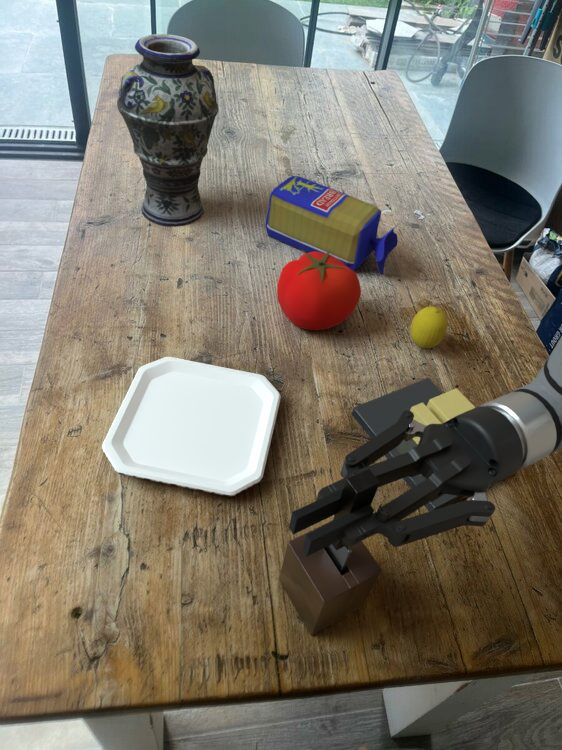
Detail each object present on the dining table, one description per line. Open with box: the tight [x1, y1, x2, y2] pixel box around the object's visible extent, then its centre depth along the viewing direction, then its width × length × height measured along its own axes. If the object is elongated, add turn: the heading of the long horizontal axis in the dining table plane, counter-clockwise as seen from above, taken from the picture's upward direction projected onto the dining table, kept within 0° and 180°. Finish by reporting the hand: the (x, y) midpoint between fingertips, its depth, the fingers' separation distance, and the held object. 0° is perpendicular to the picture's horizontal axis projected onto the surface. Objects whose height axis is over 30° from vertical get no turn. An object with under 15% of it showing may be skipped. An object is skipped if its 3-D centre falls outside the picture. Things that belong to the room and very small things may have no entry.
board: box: [351, 377, 464, 512], centre depth 81 cm, size 18×14×2 cm
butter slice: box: [410, 402, 442, 445], centre depth 78 cm, size 6×2×4 cm, turn 30°
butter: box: [427, 388, 477, 423], centre depth 80 cm, size 6×5×4 cm
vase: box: [116, 33, 219, 227], centre depth 104 cm, size 17×17×30 cm
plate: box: [101, 356, 282, 497], centre depth 78 cm, size 21×21×2 cm
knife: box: [325, 469, 380, 576], centre depth 56 cm, size 3×2×20 cm
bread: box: [264, 175, 400, 275], centre depth 108 cm, size 10×25×10 cm, turn 59°
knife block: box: [278, 519, 383, 637], centre depth 62 cm, size 7×7×9 cm
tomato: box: [276, 249, 362, 331], centre depth 93 cm, size 12×13×12 cm
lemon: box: [409, 306, 448, 349], centre depth 92 cm, size 6×6×8 cm
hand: (300, 534), depth 50 cm, fingers closed on knife, 2 cm apart
